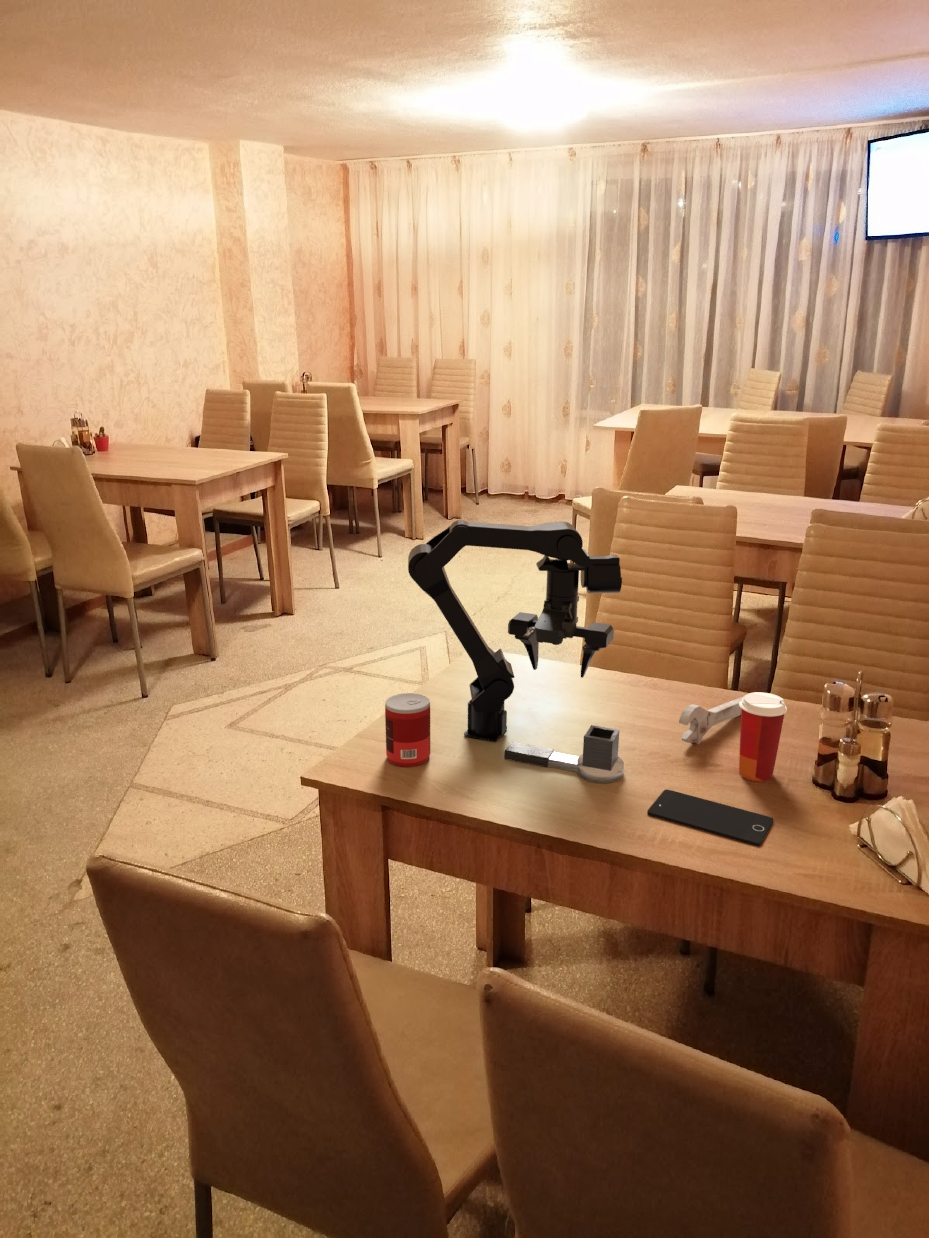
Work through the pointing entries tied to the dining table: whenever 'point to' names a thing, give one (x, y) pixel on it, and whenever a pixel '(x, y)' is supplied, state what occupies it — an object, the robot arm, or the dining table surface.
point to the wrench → (706, 719)
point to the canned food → (407, 729)
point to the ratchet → (562, 762)
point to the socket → (600, 747)
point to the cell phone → (711, 817)
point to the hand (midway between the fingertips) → (558, 673)
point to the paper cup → (760, 734)
